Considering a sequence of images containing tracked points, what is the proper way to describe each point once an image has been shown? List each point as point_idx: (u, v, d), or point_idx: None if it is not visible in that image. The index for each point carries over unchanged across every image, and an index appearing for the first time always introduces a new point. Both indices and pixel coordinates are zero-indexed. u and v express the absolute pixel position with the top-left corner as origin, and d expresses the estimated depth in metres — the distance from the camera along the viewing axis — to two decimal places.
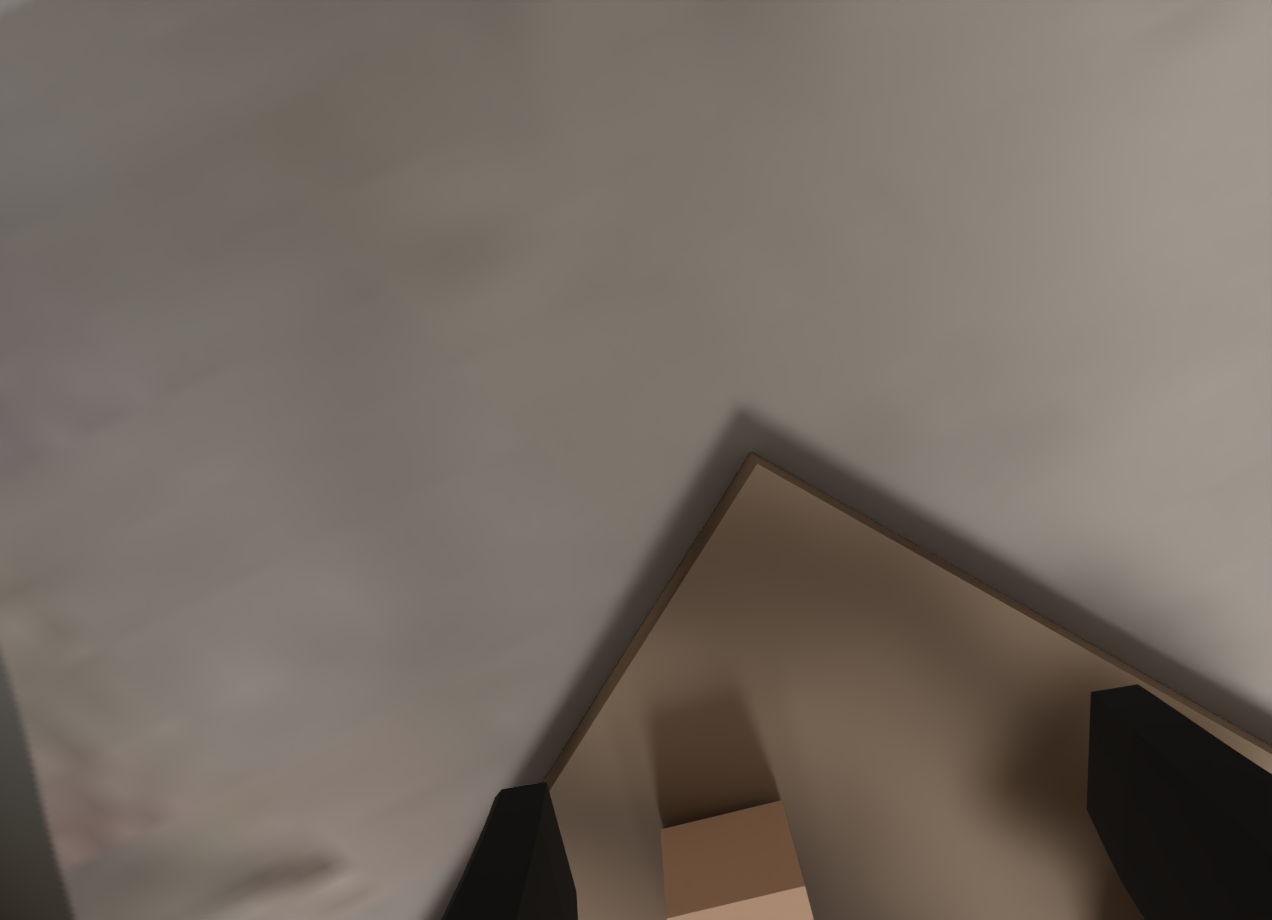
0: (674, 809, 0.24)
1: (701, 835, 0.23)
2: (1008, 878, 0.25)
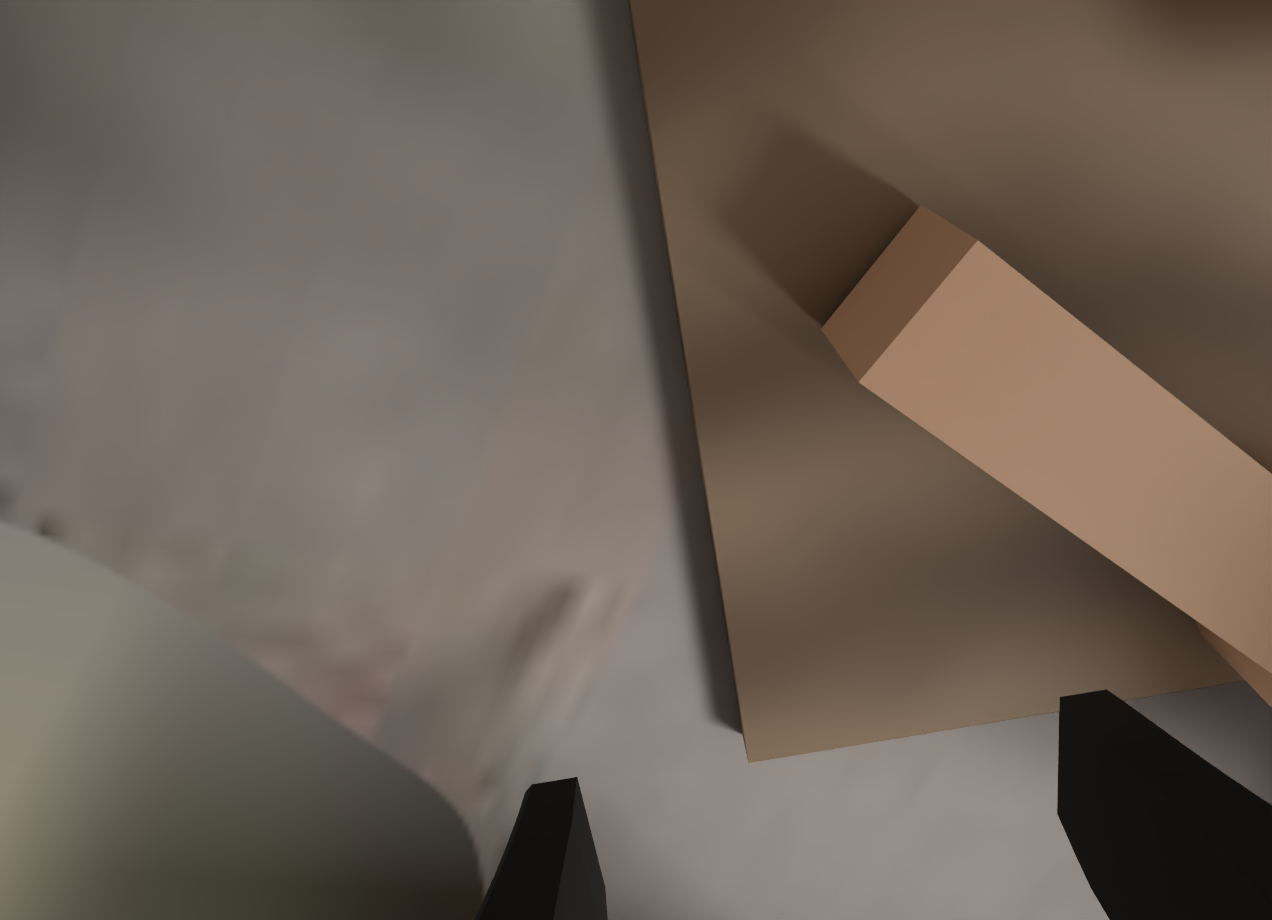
0: (822, 301, 0.20)
1: (859, 298, 0.19)
2: (1247, 103, 0.19)
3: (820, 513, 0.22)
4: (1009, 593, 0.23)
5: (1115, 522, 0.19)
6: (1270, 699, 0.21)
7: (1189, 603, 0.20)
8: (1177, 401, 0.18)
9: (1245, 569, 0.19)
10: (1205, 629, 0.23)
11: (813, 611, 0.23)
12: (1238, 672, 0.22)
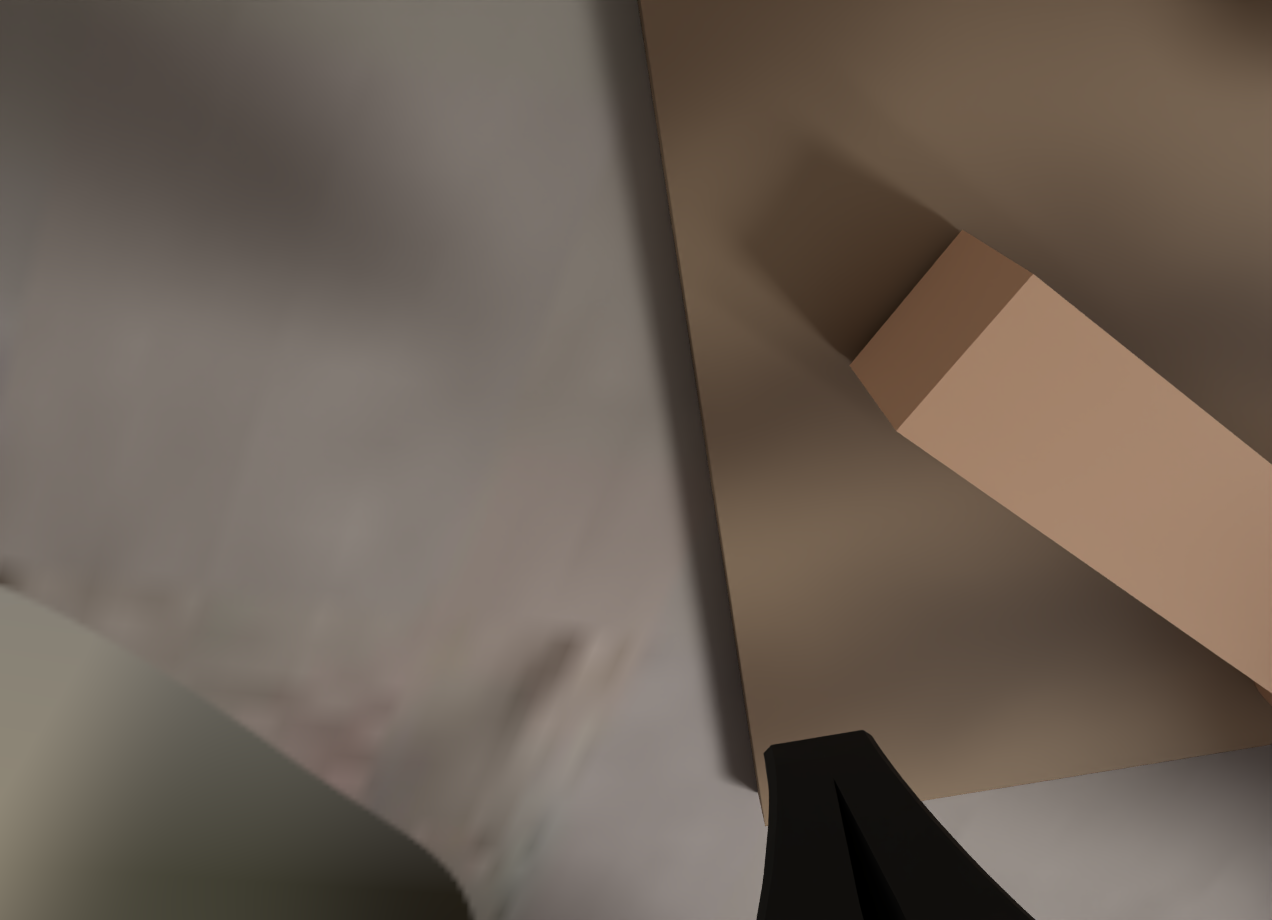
0: (850, 334, 0.18)
1: (893, 333, 0.17)
2: None
3: (845, 563, 0.20)
4: (1050, 647, 0.21)
5: (1179, 583, 0.17)
6: None
7: (1257, 669, 0.18)
8: (1251, 451, 0.16)
9: None
10: (1264, 687, 0.21)
11: (837, 667, 0.21)
12: None
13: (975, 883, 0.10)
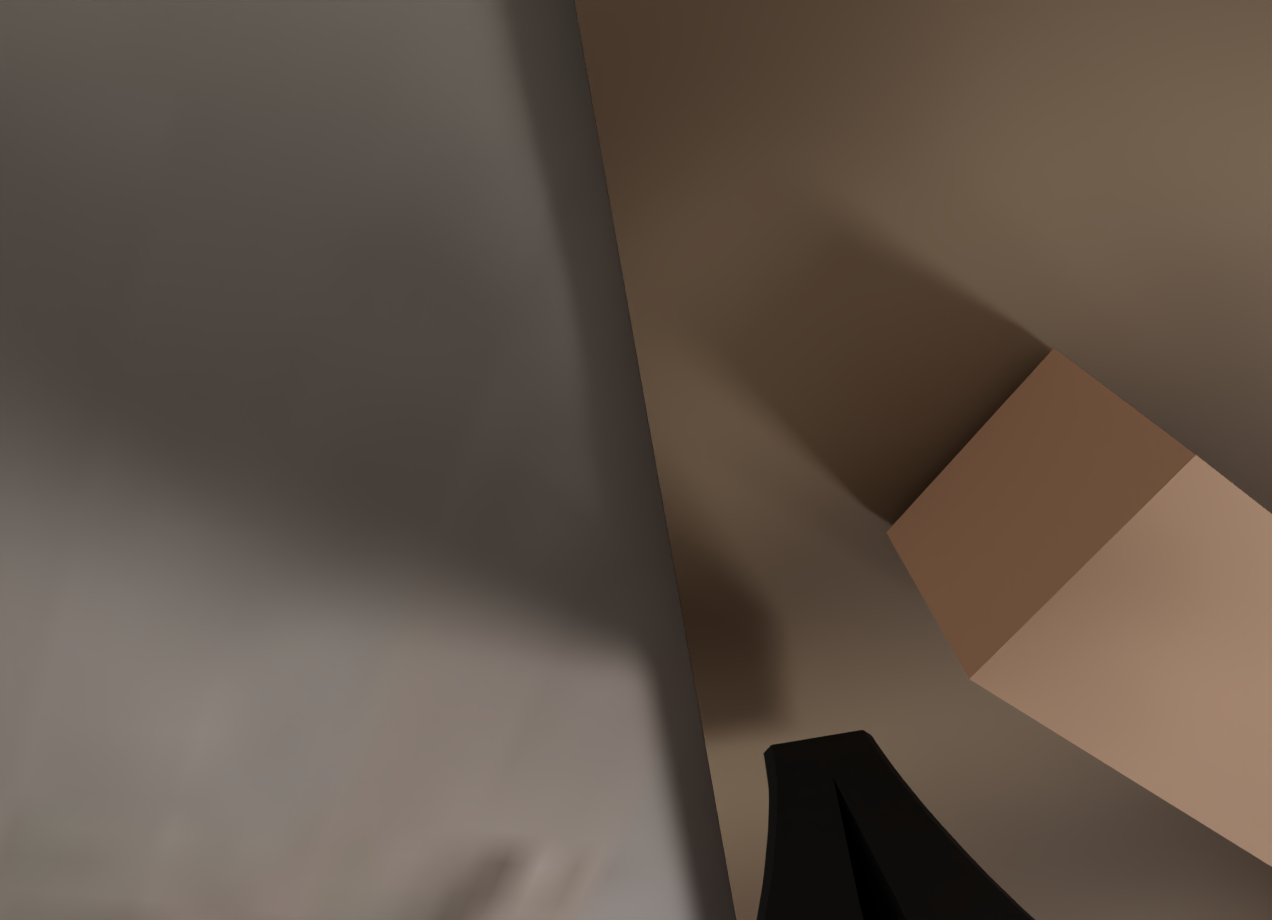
0: (888, 487, 0.13)
1: (953, 498, 0.12)
2: None
3: None
4: (1146, 874, 0.16)
5: None
6: None
7: None
8: None
9: None
10: None
11: None
12: None
13: (975, 883, 0.10)
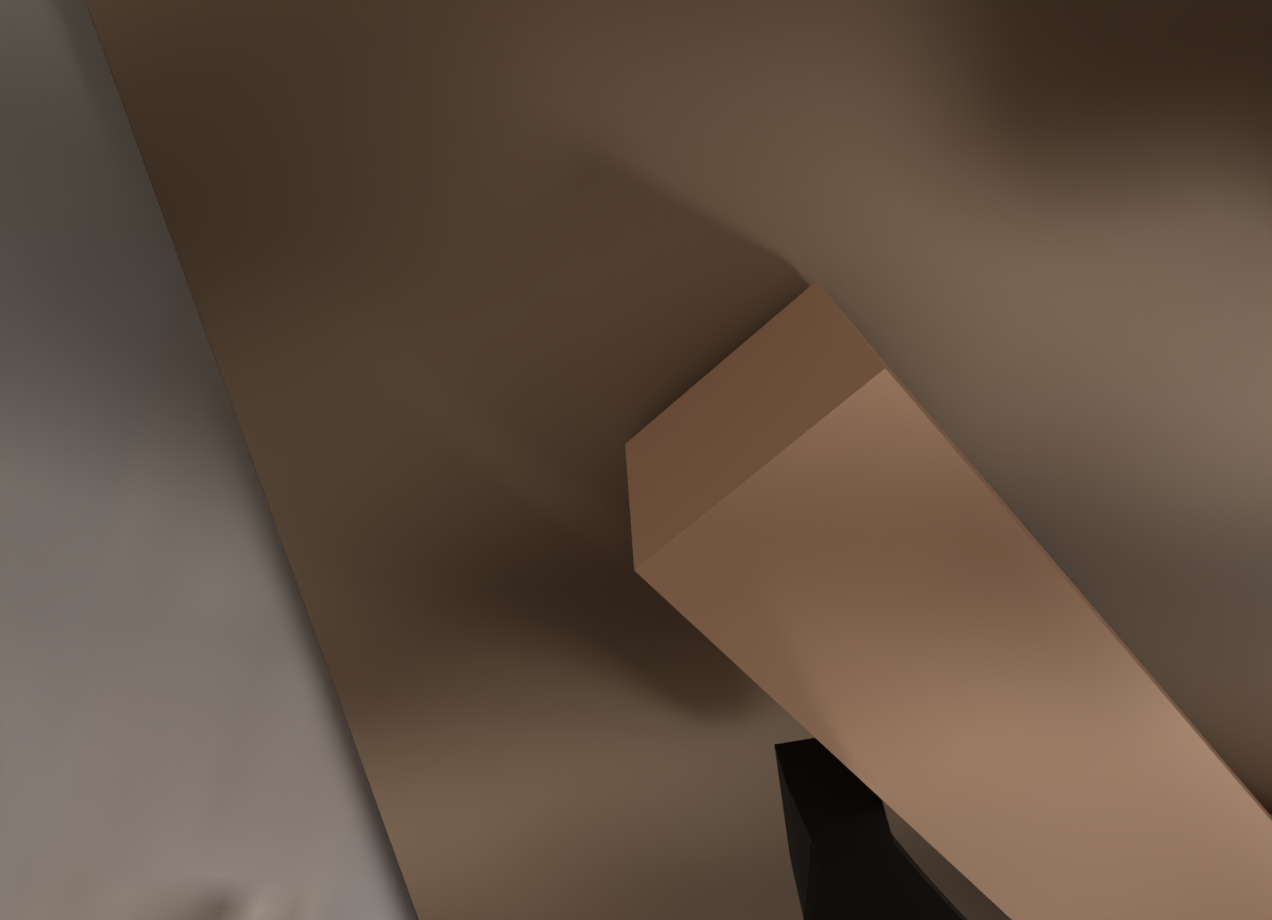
0: (511, 557, 0.13)
1: (688, 413, 0.11)
2: (1147, 277, 0.12)
3: (549, 830, 0.15)
4: None
5: (1023, 859, 0.11)
6: None
7: None
8: (1162, 698, 0.10)
9: None
10: None
11: None
12: None
13: (919, 892, 0.10)
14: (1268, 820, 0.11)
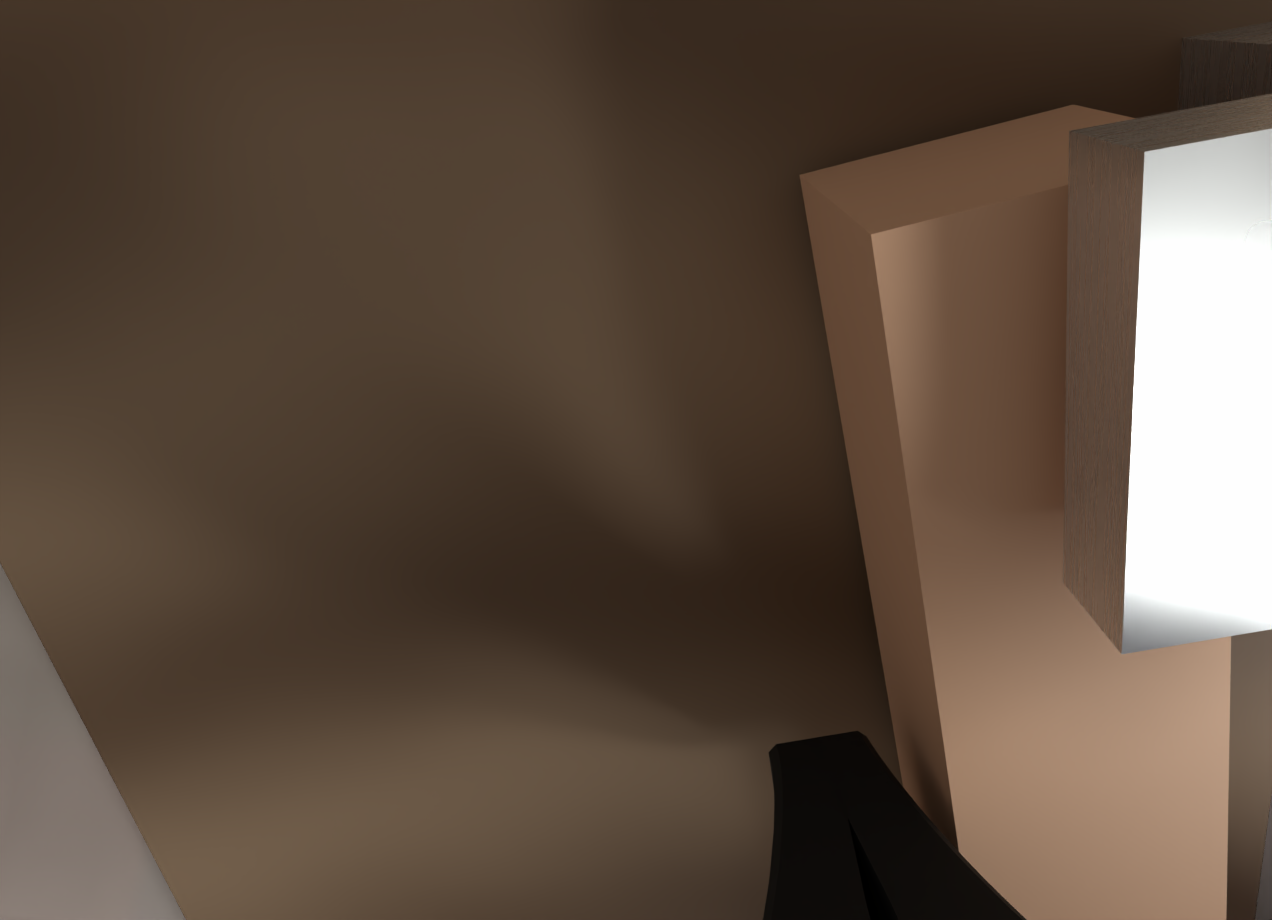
0: (250, 602, 0.13)
1: (902, 160, 0.10)
2: None
3: (326, 869, 0.15)
4: None
5: (1006, 757, 0.11)
6: None
7: None
8: (1227, 639, 0.10)
9: None
10: None
11: None
12: None
13: (968, 884, 0.10)
14: (1224, 812, 0.11)
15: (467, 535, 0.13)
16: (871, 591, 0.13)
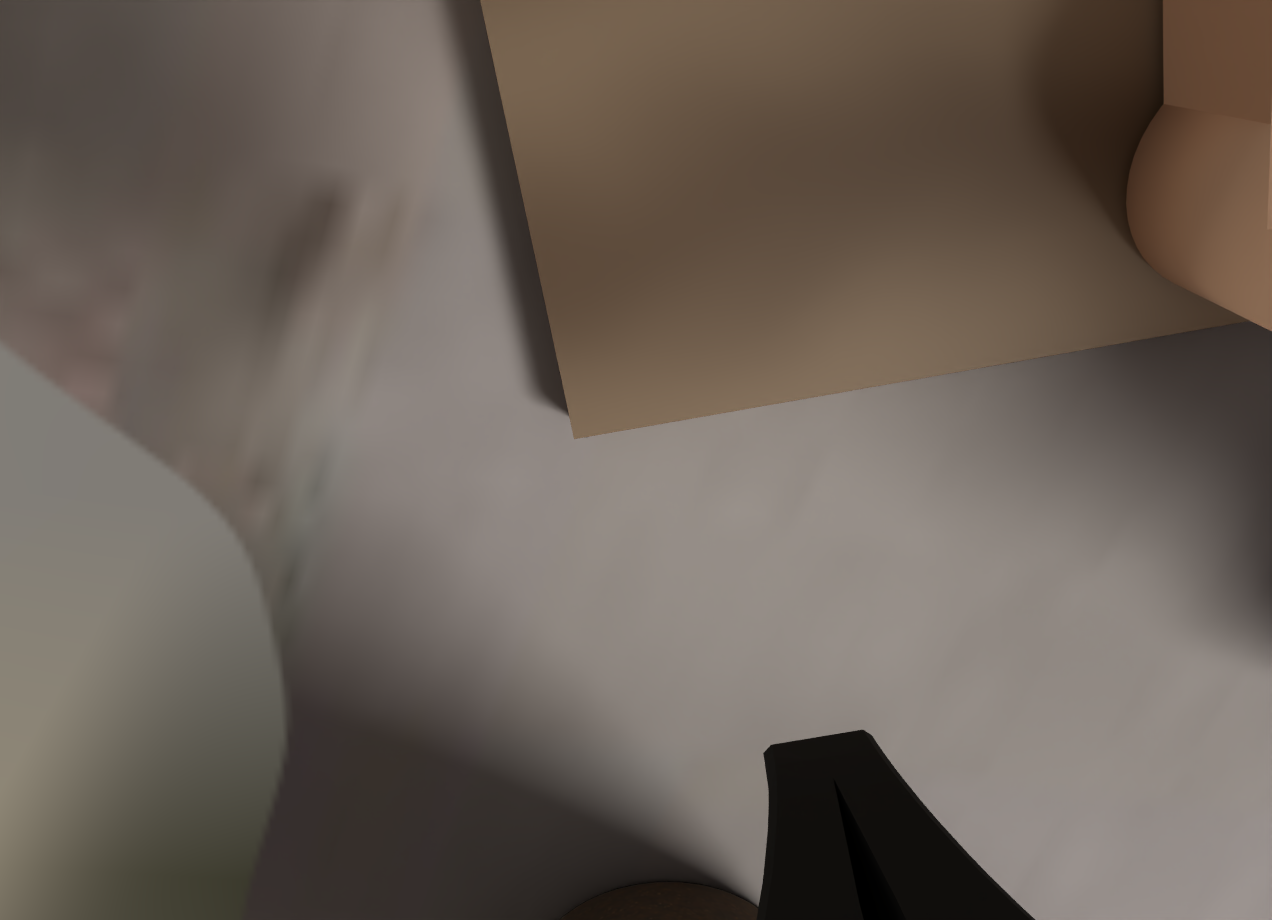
0: None
1: None
2: None
3: (637, 59, 0.17)
4: (891, 190, 0.18)
5: None
6: (1229, 174, 0.15)
7: None
8: None
9: None
10: (1153, 143, 0.17)
11: (639, 211, 0.18)
12: (1171, 187, 0.17)
13: (975, 883, 0.10)
14: None
15: None
16: None
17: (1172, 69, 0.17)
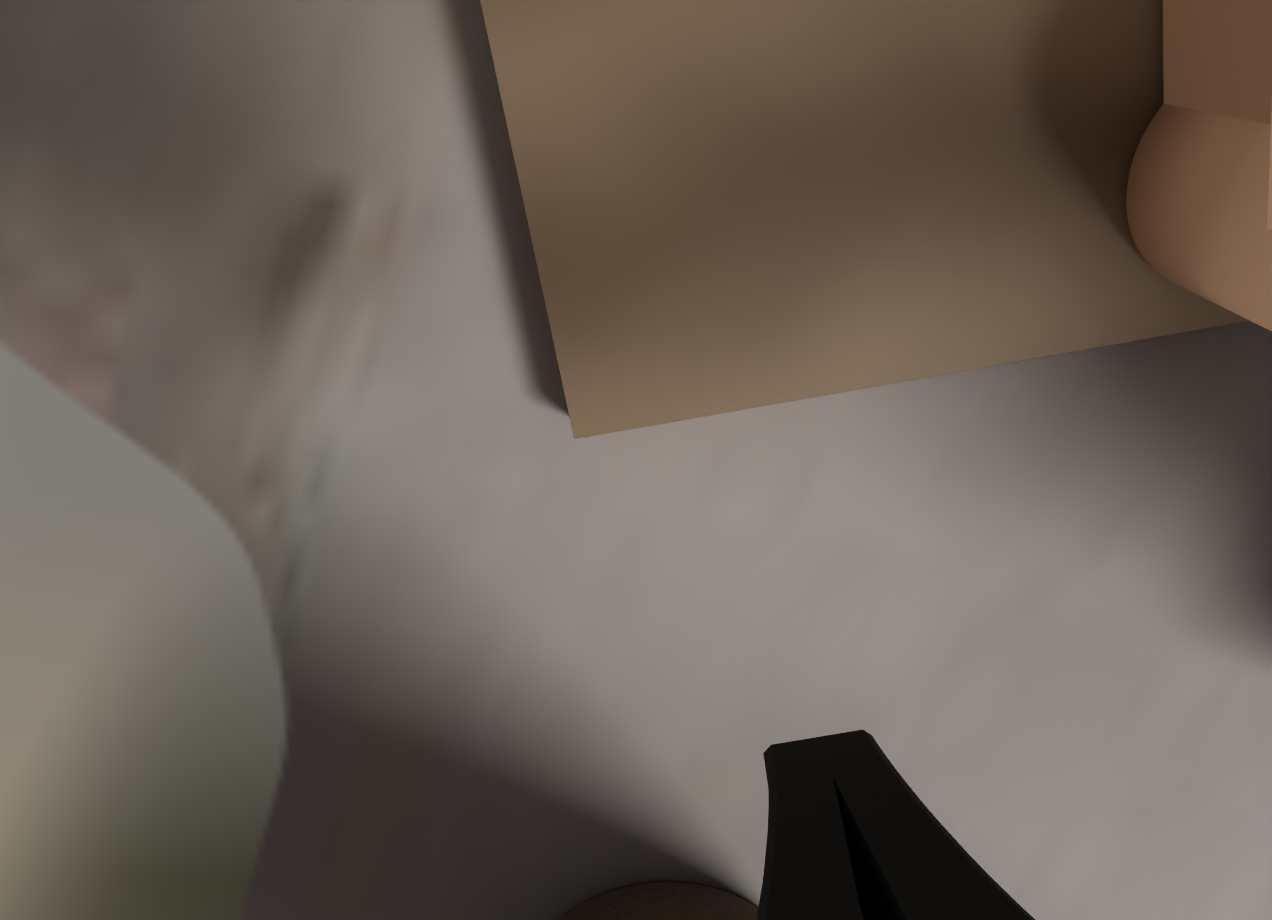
0: None
1: None
2: None
3: (637, 59, 0.17)
4: (891, 190, 0.18)
5: None
6: (1229, 174, 0.15)
7: None
8: None
9: None
10: (1153, 143, 0.17)
11: (639, 211, 0.18)
12: (1171, 187, 0.17)
13: (975, 883, 0.10)
14: None
15: None
16: None
17: (1172, 69, 0.17)
